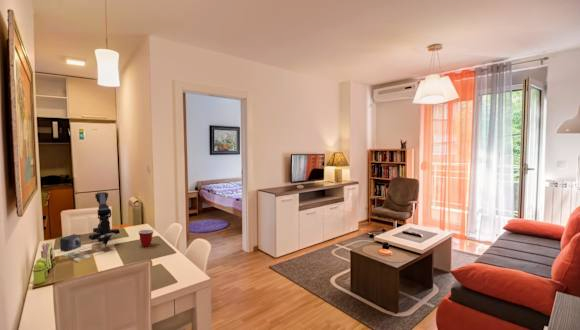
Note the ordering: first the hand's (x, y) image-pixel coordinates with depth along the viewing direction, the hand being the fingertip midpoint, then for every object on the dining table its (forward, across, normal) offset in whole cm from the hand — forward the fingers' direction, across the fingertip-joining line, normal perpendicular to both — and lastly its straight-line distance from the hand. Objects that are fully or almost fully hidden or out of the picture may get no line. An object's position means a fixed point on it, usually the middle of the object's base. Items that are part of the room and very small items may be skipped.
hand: (105, 245), depth 205 cm
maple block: (+2, +4, 0) cm, 5 cm away
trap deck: (+3, +10, 0) cm, 11 cm away
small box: (+3, +14, -19) cm, 24 cm away
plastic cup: (+4, -20, +19) cm, 28 cm away
